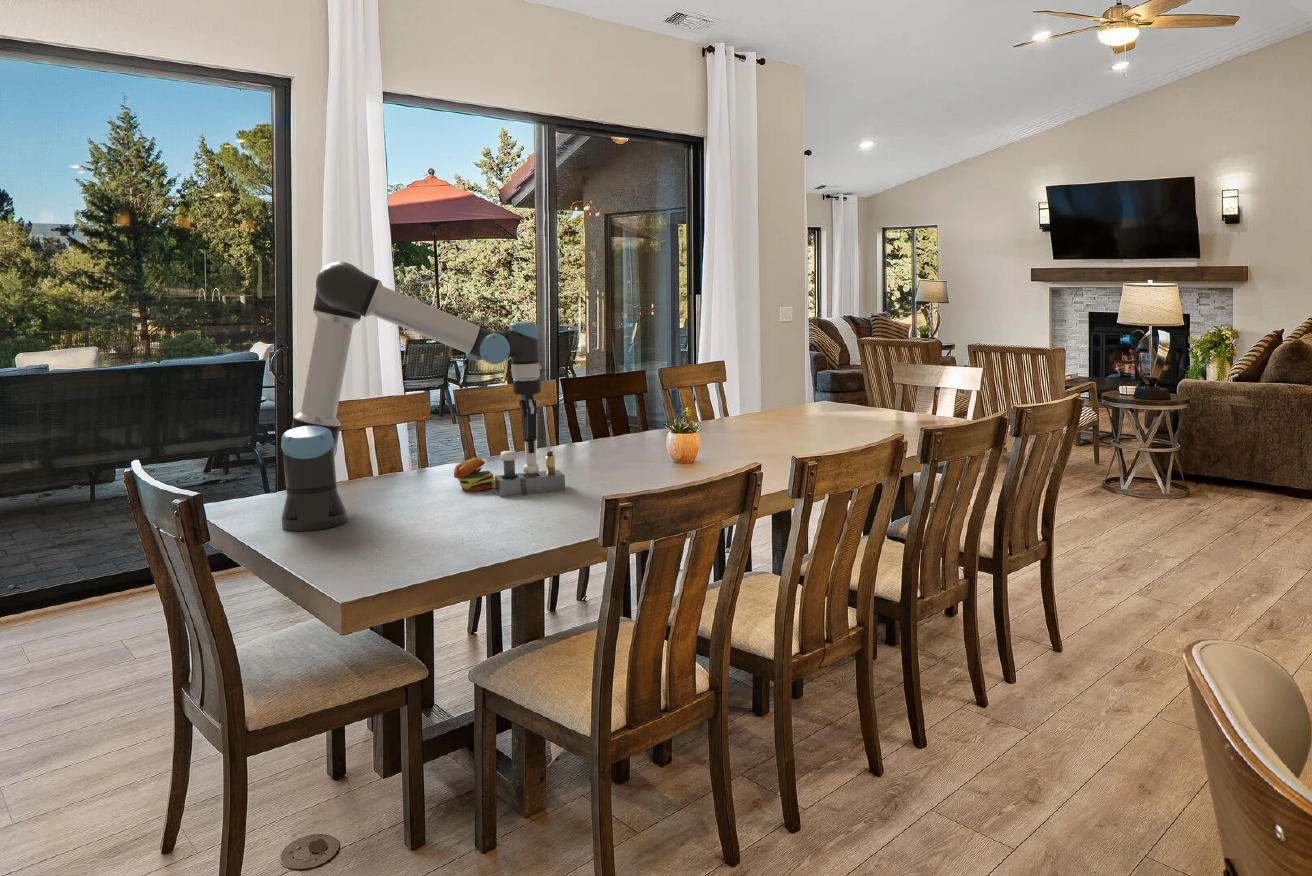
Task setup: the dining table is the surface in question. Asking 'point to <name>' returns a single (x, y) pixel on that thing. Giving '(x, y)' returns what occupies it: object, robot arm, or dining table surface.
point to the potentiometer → (550, 463)
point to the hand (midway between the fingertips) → (531, 463)
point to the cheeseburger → (474, 476)
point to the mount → (529, 484)
